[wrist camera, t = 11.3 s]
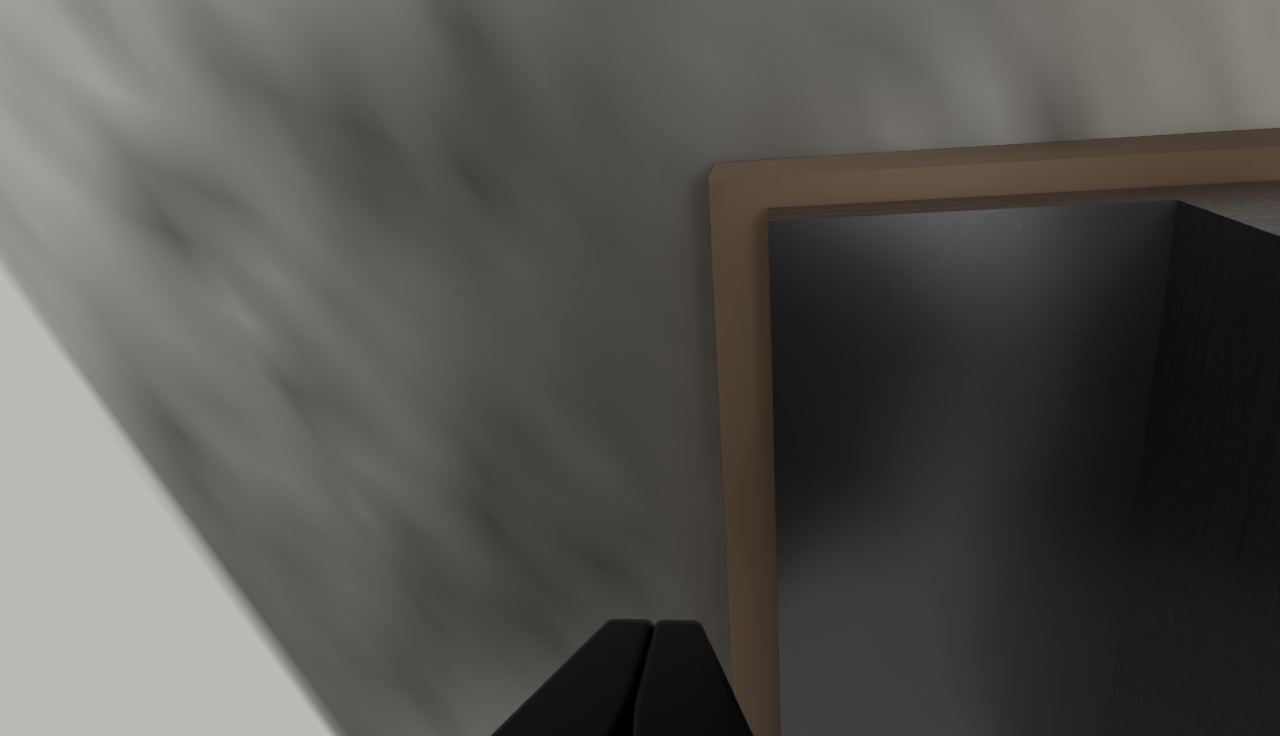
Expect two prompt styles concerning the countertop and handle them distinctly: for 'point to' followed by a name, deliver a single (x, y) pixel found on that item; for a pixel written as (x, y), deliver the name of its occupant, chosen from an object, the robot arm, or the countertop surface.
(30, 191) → the countertop surface
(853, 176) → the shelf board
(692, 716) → the robot arm
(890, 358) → the bookend
